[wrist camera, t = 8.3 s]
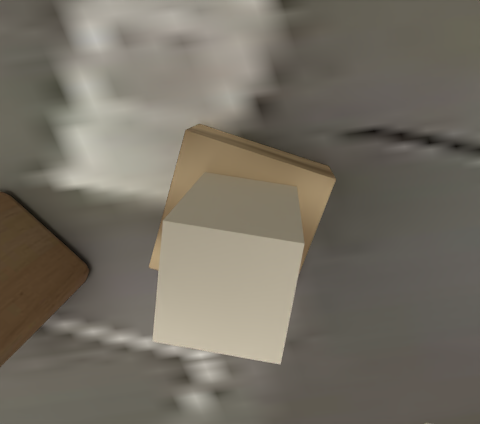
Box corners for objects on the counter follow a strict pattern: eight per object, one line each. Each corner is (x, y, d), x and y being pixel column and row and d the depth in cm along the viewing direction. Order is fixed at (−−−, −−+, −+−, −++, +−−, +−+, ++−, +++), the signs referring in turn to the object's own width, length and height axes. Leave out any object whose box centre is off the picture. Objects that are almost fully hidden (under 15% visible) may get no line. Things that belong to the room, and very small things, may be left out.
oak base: (200, 123, 32) (185, 130, 27) (327, 165, 32) (336, 179, 27) (167, 242, 35) (148, 267, 30) (283, 280, 34) (284, 311, 30)
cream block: (204, 172, 27) (162, 220, 18) (297, 186, 27) (304, 243, 18) (195, 256, 29) (152, 341, 20) (281, 270, 29) (280, 364, 19)
